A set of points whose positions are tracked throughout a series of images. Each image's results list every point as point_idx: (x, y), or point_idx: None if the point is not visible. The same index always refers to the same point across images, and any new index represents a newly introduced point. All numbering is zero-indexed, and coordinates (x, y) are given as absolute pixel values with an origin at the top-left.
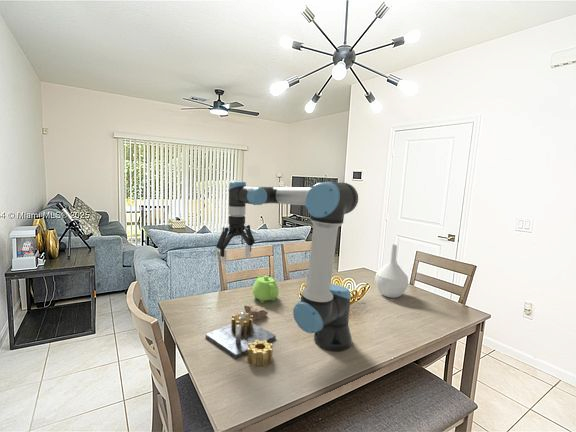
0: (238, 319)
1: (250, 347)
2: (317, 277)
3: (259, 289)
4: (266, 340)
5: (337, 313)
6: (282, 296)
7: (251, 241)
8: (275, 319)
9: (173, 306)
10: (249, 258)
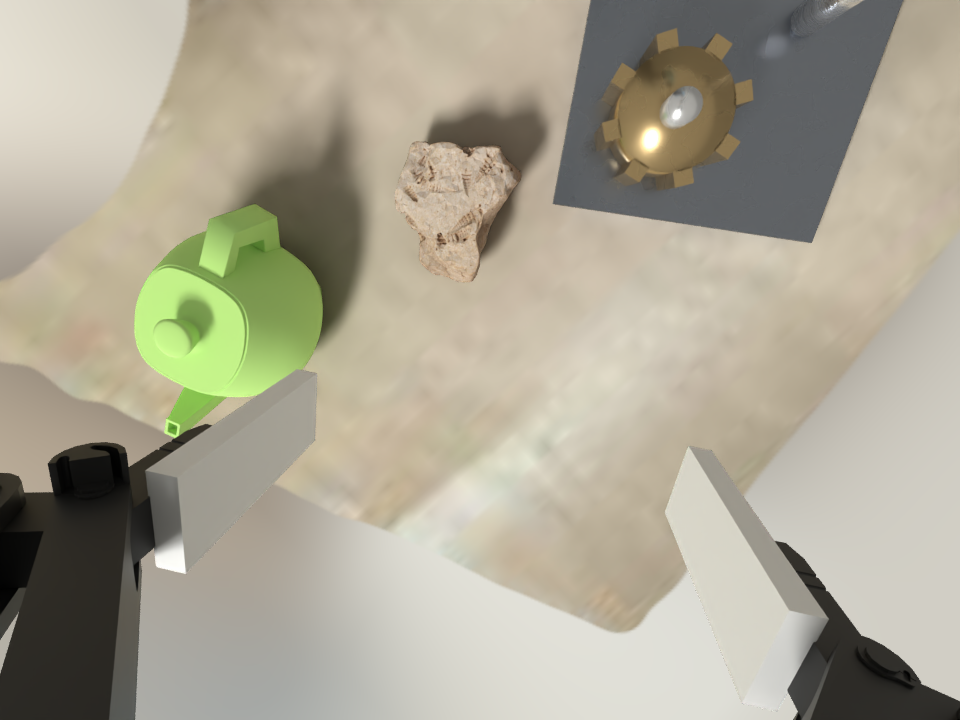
0: (716, 109)
1: None
2: None
3: (292, 313)
4: None
5: None
6: None
7: (10, 543)
8: (421, 77)
9: (633, 575)
10: (301, 374)
